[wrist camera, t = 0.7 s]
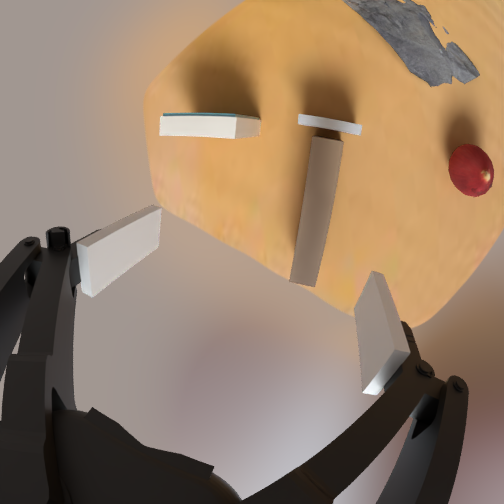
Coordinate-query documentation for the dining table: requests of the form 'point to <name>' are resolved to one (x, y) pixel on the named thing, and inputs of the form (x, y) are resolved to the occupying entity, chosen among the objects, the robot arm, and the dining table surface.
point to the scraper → (318, 197)
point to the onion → (471, 170)
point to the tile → (209, 125)
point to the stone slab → (416, 40)
